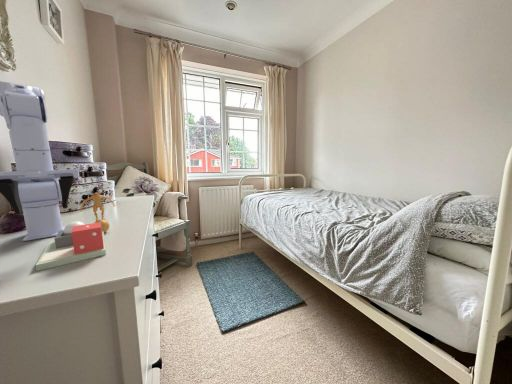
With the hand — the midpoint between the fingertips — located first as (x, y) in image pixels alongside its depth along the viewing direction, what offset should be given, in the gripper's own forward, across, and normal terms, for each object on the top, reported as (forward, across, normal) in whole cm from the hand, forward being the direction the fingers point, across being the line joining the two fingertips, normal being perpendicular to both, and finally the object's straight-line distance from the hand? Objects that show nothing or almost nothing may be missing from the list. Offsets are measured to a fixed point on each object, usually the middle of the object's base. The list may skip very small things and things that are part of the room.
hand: (43, 210), depth 48 cm
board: (+10, +5, -4) cm, 12 cm away
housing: (+9, +5, 0) cm, 10 cm away
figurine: (+10, +10, +8) cm, 16 cm away
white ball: (+8, +5, 0) cm, 10 cm away
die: (+9, +8, -8) cm, 14 cm away
